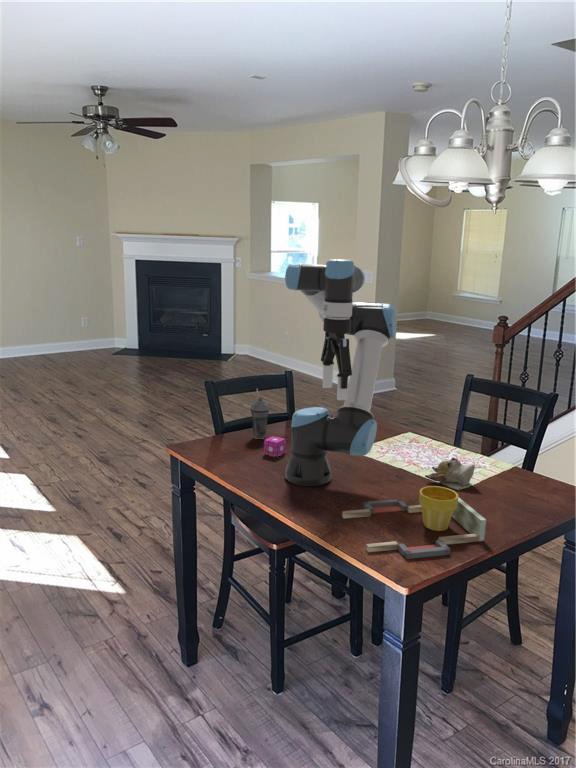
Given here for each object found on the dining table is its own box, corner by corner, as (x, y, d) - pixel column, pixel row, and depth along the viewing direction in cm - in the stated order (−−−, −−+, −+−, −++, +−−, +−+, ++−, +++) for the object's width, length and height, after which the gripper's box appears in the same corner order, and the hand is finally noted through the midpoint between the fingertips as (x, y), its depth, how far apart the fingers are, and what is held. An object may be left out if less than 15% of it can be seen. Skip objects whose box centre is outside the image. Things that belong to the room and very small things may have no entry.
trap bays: (362, 506, 182) (362, 502, 182) (400, 503, 185) (400, 498, 184) (405, 559, 153) (406, 553, 152) (450, 554, 155) (450, 549, 155)
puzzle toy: (263, 455, 223) (264, 440, 222) (272, 450, 228) (272, 436, 227) (277, 458, 220) (277, 443, 219) (285, 453, 225) (285, 438, 224)
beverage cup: (270, 440, 239) (271, 390, 234) (251, 441, 237) (252, 391, 233) (266, 434, 246) (267, 385, 241) (248, 435, 244) (249, 386, 240)
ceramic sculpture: (471, 465, 193) (424, 459, 200) (470, 491, 195) (424, 484, 201) (478, 455, 202) (432, 450, 209) (477, 480, 204) (432, 474, 211)
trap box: (341, 516, 175) (342, 496, 174) (446, 507, 183) (448, 488, 181) (368, 552, 155) (369, 530, 154) (484, 540, 163) (486, 519, 162)
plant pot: (449, 517, 176) (452, 485, 174) (460, 534, 166) (463, 500, 164) (413, 517, 176) (415, 485, 174) (422, 534, 166) (424, 500, 164)
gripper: (311, 312, 178) (309, 383, 183) (338, 324, 154) (335, 405, 159) (336, 311, 180) (333, 382, 185) (366, 323, 156) (362, 404, 161)
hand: (334, 393), depth 172 cm, fingers open, 13 cm apart
